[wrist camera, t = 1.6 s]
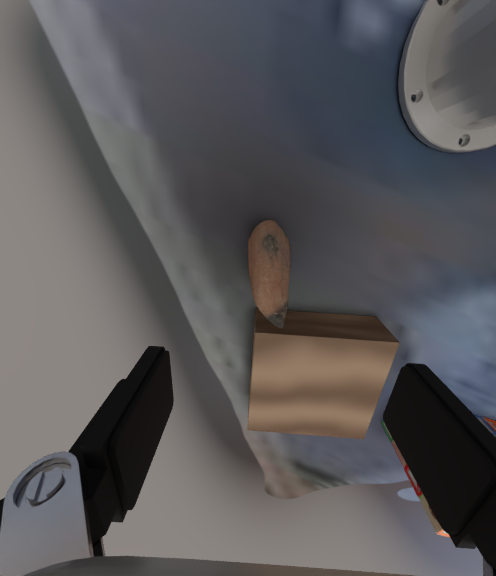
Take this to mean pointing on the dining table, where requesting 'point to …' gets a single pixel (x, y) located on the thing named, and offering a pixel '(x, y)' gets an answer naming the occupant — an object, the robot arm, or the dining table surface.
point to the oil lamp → (269, 270)
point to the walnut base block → (318, 373)
